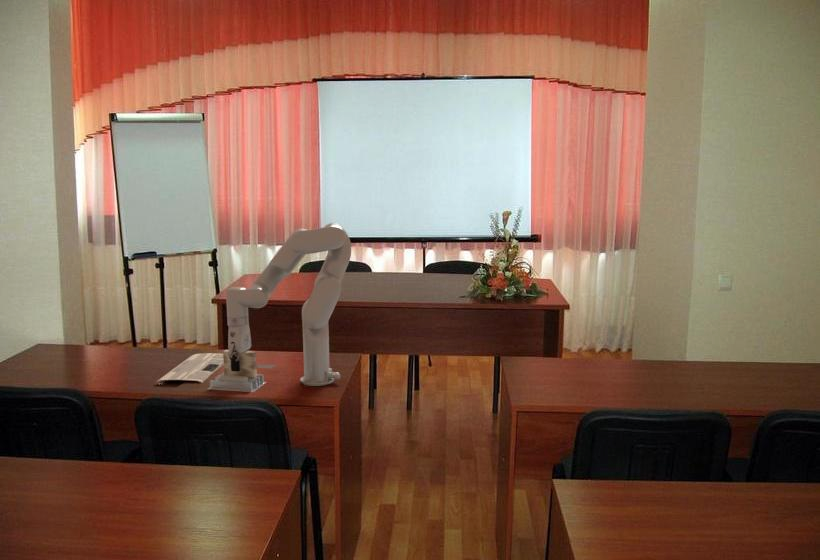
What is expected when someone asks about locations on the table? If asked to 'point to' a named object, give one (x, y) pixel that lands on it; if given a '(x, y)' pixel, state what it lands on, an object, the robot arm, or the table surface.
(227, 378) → the offcut block
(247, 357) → the birch sheet
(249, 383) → the slot rack
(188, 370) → the newspaper
